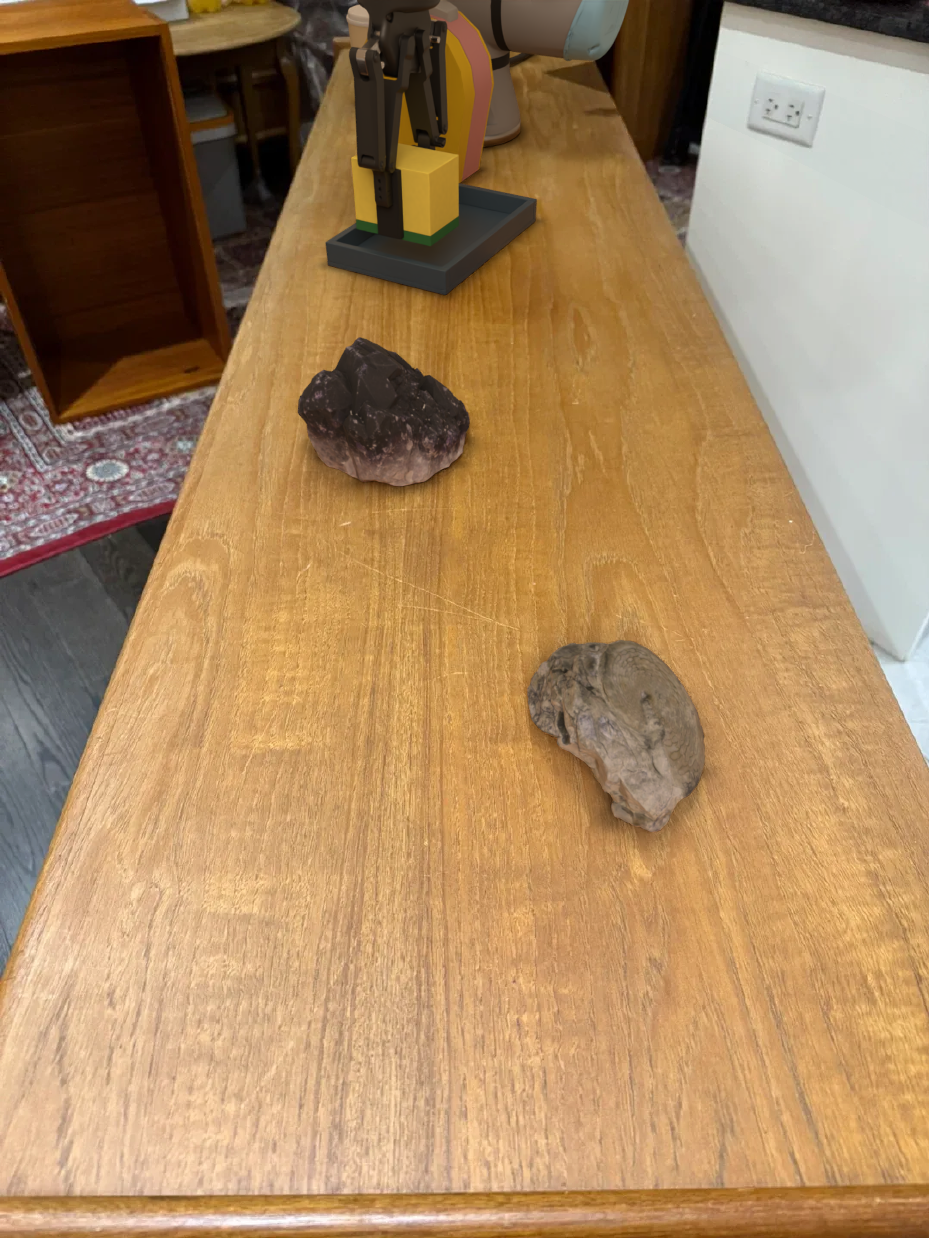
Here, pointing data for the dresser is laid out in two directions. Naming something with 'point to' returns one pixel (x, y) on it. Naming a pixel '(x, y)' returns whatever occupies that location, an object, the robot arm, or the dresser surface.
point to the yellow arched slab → (460, 90)
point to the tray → (438, 243)
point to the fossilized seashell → (622, 725)
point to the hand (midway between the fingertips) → (407, 224)
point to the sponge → (415, 194)
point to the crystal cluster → (382, 417)
